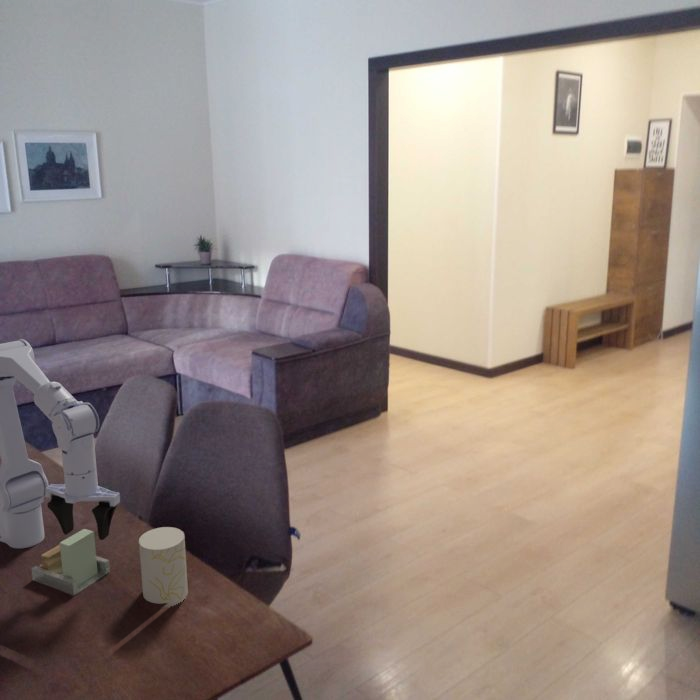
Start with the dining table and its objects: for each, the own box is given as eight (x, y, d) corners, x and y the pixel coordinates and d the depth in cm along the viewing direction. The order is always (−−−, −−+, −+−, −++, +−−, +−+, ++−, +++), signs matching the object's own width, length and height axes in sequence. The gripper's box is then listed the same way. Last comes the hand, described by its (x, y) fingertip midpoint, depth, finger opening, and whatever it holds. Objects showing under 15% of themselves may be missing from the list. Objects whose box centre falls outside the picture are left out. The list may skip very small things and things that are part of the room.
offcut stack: (40, 576, 136) (38, 556, 135) (65, 561, 142) (63, 542, 140) (49, 579, 135) (47, 559, 134) (73, 564, 140) (71, 544, 139)
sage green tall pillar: (64, 585, 134) (59, 542, 131) (88, 569, 139) (84, 528, 137) (73, 588, 133) (69, 545, 130) (97, 572, 138) (93, 531, 135)
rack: (33, 584, 135) (31, 568, 135) (70, 562, 143) (68, 546, 142) (74, 600, 131) (72, 583, 130) (110, 575, 138) (109, 560, 138)
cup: (154, 613, 127) (150, 554, 124) (136, 593, 133) (131, 536, 130) (195, 597, 132) (192, 539, 129) (176, 578, 138) (172, 522, 135)
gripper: (31, 473, 128) (39, 540, 132) (102, 482, 125) (108, 550, 128) (56, 458, 135) (62, 522, 138) (123, 466, 132) (128, 531, 135)
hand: (86, 534), depth 134 cm, fingers open, 7 cm apart
